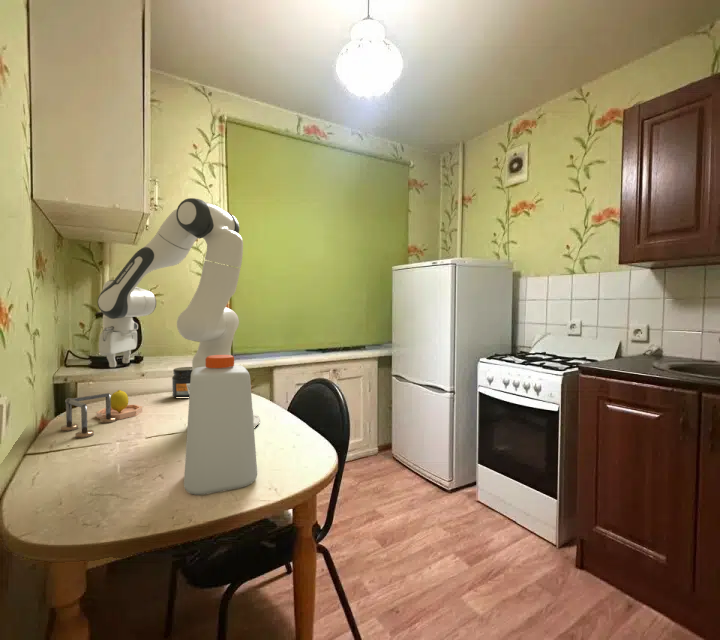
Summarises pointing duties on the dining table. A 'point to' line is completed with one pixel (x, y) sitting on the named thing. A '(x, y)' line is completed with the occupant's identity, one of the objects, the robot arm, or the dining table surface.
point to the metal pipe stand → (85, 414)
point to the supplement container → (181, 381)
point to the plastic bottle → (220, 428)
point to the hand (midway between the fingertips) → (119, 364)
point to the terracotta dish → (125, 413)
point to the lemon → (119, 401)
